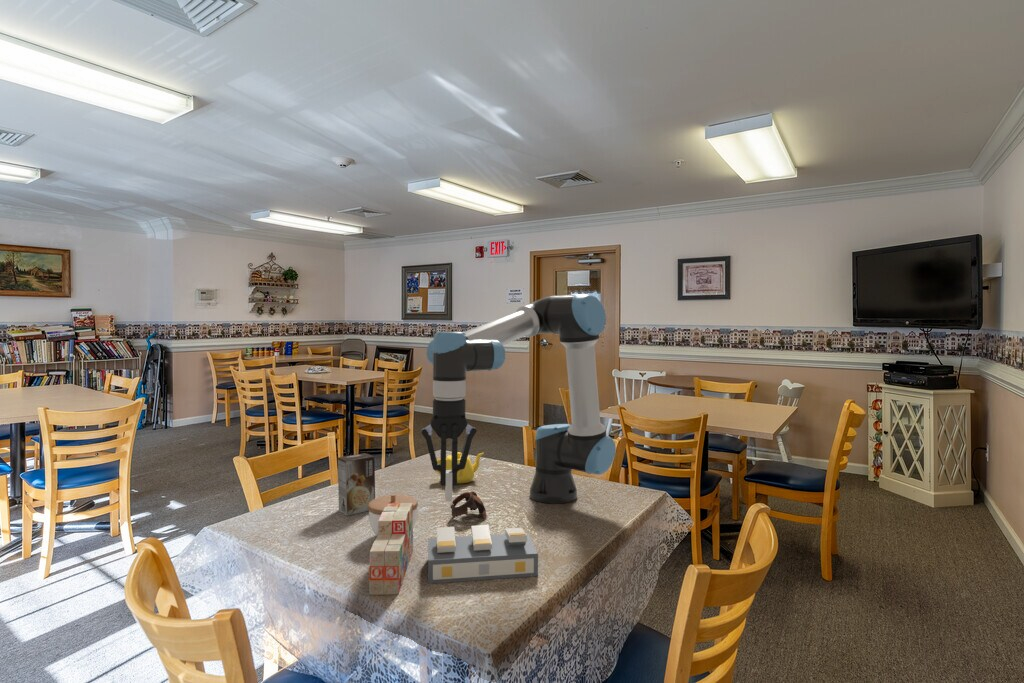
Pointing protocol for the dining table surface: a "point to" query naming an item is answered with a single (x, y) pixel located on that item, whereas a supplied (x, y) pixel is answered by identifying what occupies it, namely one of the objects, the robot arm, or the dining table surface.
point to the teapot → (467, 472)
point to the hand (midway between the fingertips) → (448, 499)
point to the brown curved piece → (468, 504)
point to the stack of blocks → (391, 549)
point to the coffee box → (356, 483)
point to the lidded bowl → (380, 503)
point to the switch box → (482, 560)
